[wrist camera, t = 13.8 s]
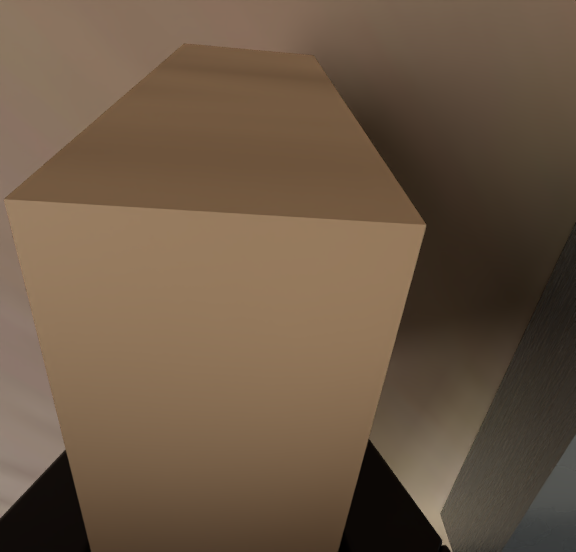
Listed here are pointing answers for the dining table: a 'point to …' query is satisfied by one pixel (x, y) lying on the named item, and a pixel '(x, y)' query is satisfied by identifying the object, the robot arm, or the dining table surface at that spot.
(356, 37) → the dining table surface
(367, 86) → the dining table surface
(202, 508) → the wooden block
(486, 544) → the slot block
